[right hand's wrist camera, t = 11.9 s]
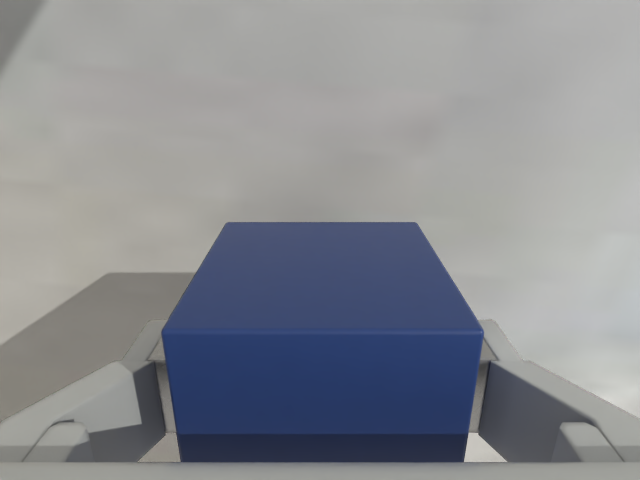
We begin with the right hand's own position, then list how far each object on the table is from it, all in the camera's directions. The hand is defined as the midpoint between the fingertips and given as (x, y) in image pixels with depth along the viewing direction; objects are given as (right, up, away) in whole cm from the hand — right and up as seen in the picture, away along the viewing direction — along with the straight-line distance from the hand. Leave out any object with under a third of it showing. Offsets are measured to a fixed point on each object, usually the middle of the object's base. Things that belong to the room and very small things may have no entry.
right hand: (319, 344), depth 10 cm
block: (0, +1, +2) cm, 2 cm away
